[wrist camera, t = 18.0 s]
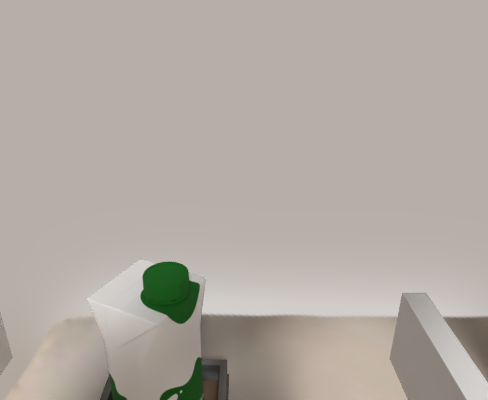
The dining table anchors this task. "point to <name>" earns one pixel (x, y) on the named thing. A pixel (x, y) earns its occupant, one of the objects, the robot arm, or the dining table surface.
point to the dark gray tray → (212, 381)
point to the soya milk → (152, 331)
